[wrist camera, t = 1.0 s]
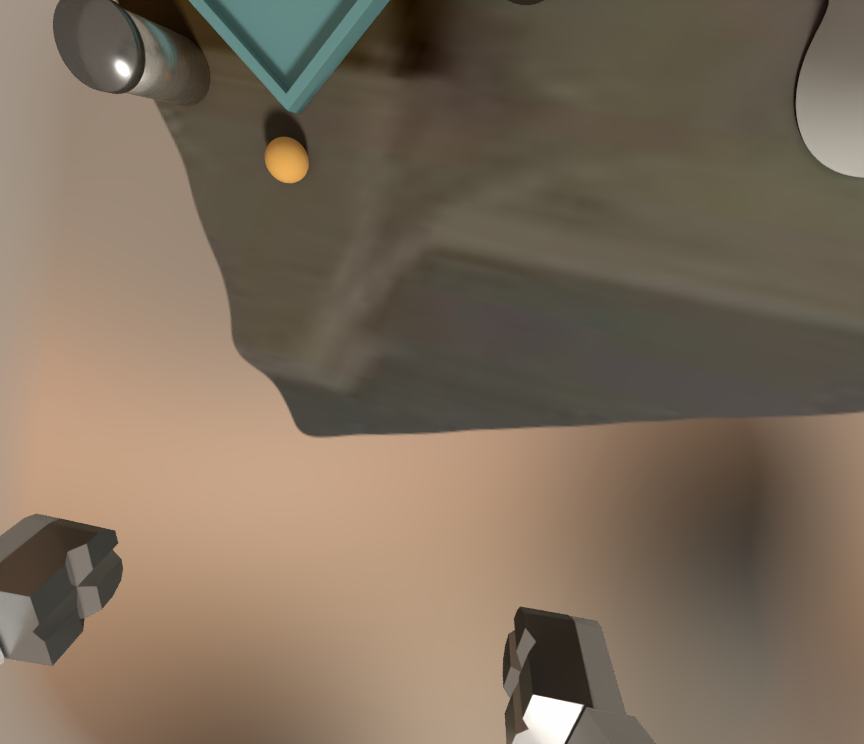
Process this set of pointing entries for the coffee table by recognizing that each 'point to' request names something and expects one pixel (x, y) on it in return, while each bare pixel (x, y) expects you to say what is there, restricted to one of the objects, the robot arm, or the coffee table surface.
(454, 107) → the coffee table surface
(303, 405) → the coffee table surface
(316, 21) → the tray
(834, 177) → the coffee table surface
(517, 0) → the coffee mug
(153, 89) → the cup
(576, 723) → the robot arm
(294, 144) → the ball
